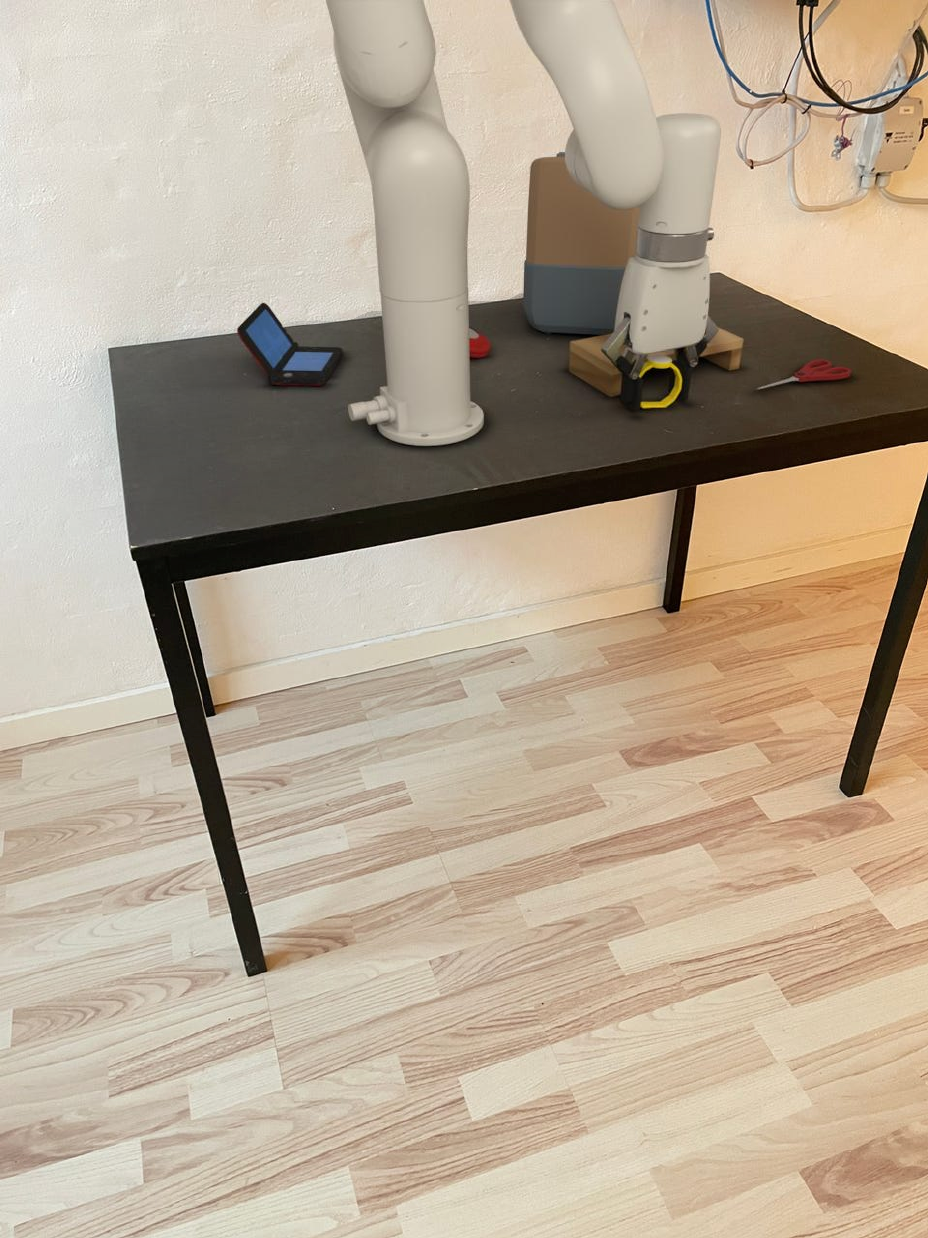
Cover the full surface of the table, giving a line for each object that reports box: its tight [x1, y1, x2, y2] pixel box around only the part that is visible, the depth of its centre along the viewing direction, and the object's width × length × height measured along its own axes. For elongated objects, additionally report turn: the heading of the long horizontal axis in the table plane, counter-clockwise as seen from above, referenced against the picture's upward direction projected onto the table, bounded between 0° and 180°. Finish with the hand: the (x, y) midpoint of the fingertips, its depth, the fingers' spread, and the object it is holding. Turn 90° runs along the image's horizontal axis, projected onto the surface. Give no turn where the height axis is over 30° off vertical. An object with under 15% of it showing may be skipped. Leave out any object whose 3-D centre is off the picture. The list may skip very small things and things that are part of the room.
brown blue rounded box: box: [522, 151, 640, 336], centre depth 127 cm, size 17×17×23 cm
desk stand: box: [568, 327, 744, 398], centre depth 116 cm, size 20×10×4 cm, turn 115°
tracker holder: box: [469, 326, 491, 359], centre depth 125 cm, size 12×4×10 cm
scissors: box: [756, 358, 852, 390], centre depth 113 cm, size 5×14×1 cm, turn 119°
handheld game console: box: [236, 302, 344, 387], centre depth 118 cm, size 12×11×7 cm
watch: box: [639, 355, 682, 409], centre depth 106 cm, size 6×3×6 cm, turn 100°
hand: (654, 400), depth 107 cm, fingers closed on watch, 6 cm apart
